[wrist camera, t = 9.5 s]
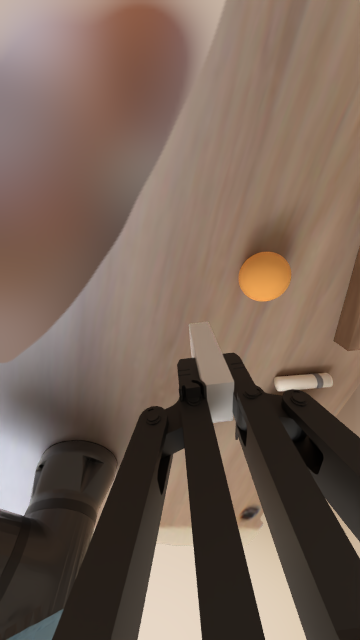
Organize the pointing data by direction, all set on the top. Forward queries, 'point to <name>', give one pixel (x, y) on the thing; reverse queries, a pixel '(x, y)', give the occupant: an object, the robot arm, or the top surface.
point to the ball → (264, 276)
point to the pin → (303, 381)
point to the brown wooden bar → (351, 313)
